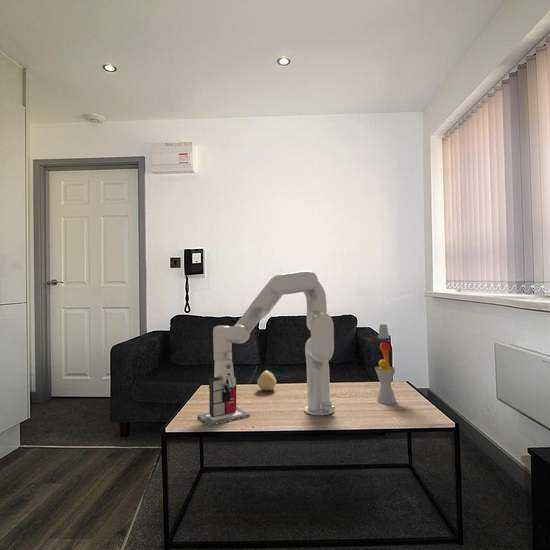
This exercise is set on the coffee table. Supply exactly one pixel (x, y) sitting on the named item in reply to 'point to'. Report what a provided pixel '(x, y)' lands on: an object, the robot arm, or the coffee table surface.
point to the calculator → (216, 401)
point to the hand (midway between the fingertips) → (223, 399)
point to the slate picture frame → (223, 417)
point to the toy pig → (266, 381)
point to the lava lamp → (385, 371)
